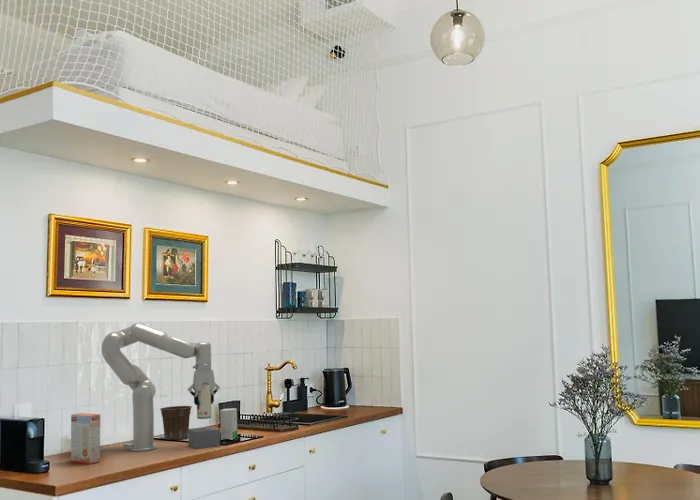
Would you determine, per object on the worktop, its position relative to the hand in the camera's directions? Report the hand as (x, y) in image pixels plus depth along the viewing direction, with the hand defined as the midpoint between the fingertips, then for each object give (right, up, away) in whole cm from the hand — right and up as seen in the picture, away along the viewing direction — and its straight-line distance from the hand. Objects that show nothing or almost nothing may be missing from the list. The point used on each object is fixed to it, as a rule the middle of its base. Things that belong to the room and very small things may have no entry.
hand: (204, 403), depth 349 cm
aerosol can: (0, -7, -1) cm, 7 cm away
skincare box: (+10, -22, +14) cm, 28 cm away
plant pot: (-20, -24, +24) cm, 39 cm away
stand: (+1, -20, -2) cm, 20 cm away
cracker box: (-45, -18, -35) cm, 60 cm away
